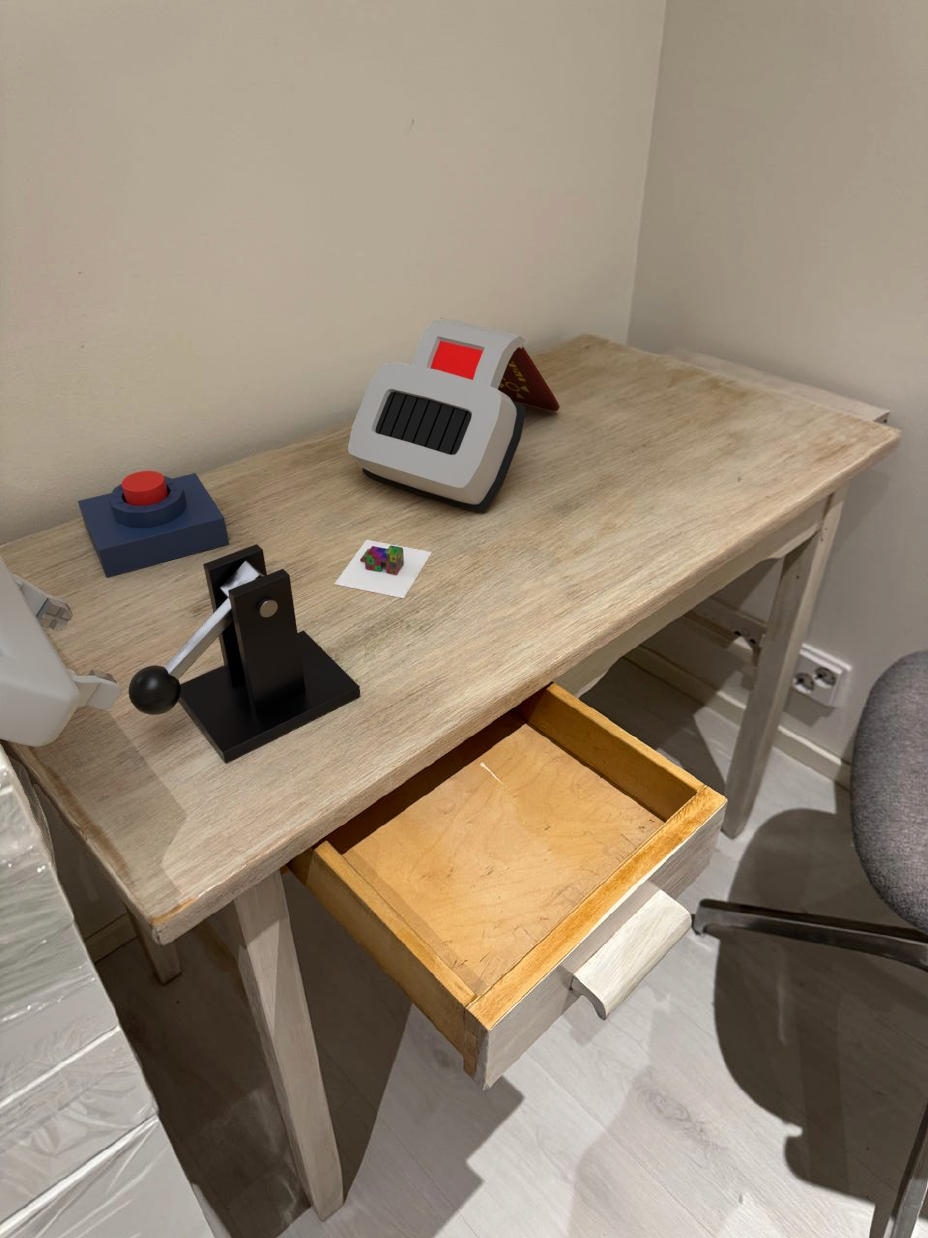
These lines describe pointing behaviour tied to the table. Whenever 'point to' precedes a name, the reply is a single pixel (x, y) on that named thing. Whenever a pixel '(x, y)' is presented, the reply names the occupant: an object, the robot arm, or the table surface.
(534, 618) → the table surface
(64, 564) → the table surface
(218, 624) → the lever
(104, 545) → the stop box
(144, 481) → the stop button
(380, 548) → the multicoloured block
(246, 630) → the switch bracket
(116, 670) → the table surface
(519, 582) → the table surface
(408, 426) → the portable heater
